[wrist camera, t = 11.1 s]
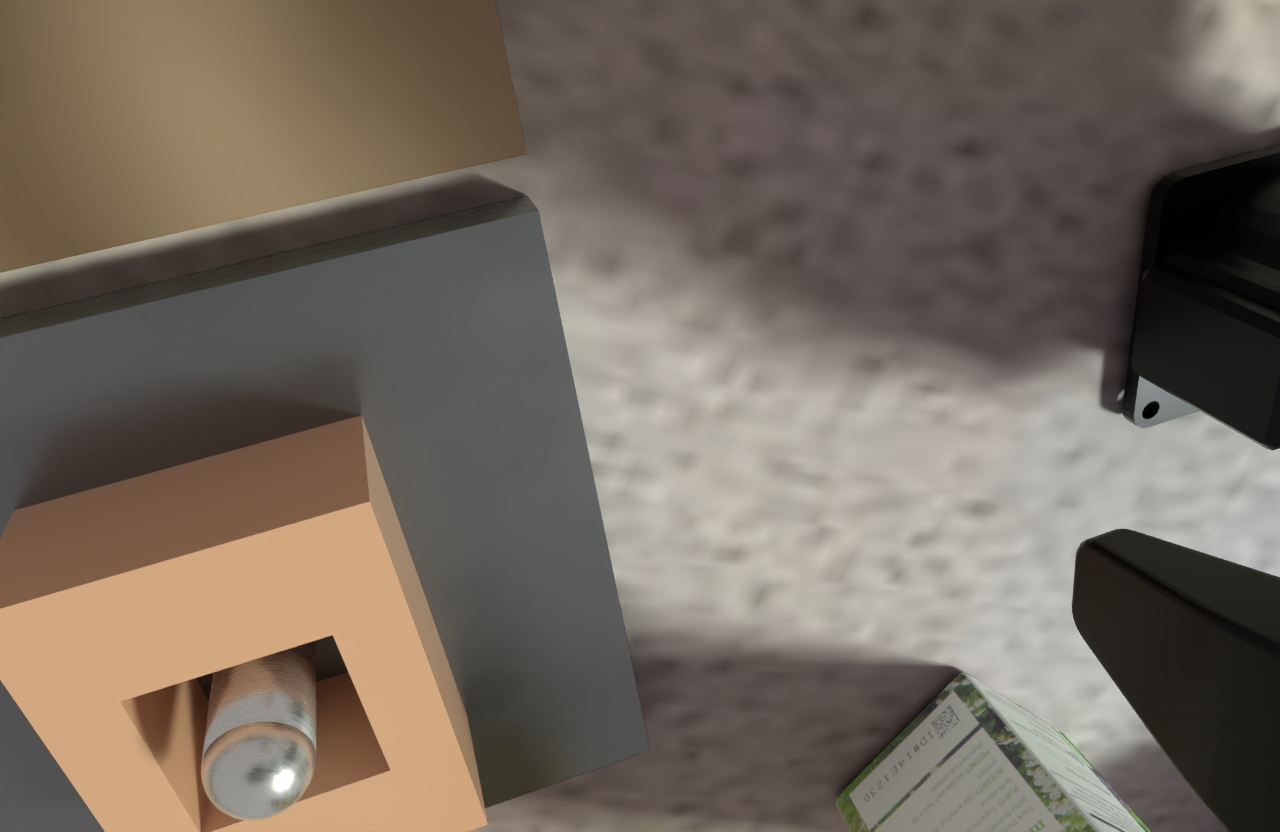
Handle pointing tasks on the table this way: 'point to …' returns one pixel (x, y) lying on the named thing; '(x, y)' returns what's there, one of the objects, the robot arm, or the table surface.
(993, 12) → the table surface
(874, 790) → the syrup box
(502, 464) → the hub base
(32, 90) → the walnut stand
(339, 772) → the square tube wooden block
